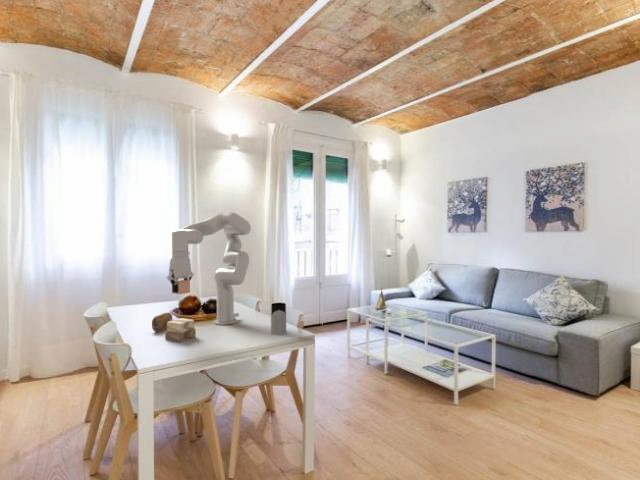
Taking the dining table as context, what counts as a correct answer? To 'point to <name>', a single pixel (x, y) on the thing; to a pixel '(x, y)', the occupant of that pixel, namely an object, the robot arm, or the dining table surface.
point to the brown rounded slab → (161, 322)
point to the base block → (180, 335)
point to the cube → (183, 287)
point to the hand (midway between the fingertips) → (180, 291)
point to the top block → (180, 325)
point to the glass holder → (278, 319)
